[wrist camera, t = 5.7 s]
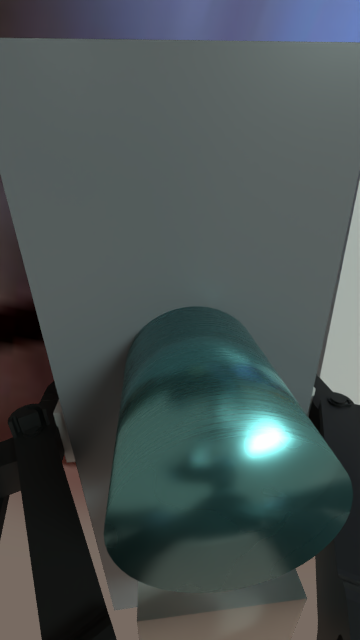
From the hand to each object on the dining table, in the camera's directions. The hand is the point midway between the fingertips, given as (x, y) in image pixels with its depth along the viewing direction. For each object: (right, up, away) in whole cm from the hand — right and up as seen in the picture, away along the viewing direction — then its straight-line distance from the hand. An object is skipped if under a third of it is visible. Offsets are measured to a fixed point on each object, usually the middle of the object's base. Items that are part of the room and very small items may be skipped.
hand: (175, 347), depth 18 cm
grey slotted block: (0, 0, +1) cm, 1 cm away
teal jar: (+1, 0, -8) cm, 8 cm away
